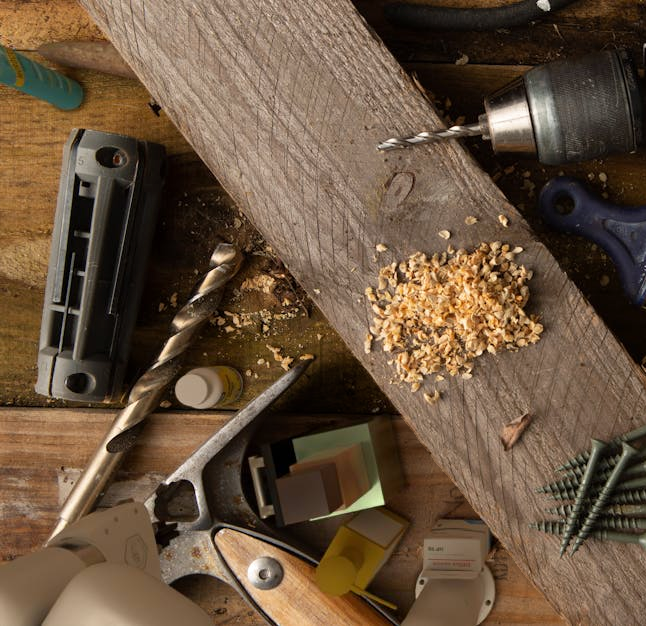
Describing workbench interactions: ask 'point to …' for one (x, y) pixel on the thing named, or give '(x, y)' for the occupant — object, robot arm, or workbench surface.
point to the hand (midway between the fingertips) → (166, 531)
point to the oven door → (273, 474)
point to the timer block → (309, 493)
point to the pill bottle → (209, 387)
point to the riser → (343, 470)
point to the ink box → (456, 549)
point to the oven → (375, 449)
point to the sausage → (88, 57)
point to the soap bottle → (360, 552)
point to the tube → (38, 80)
